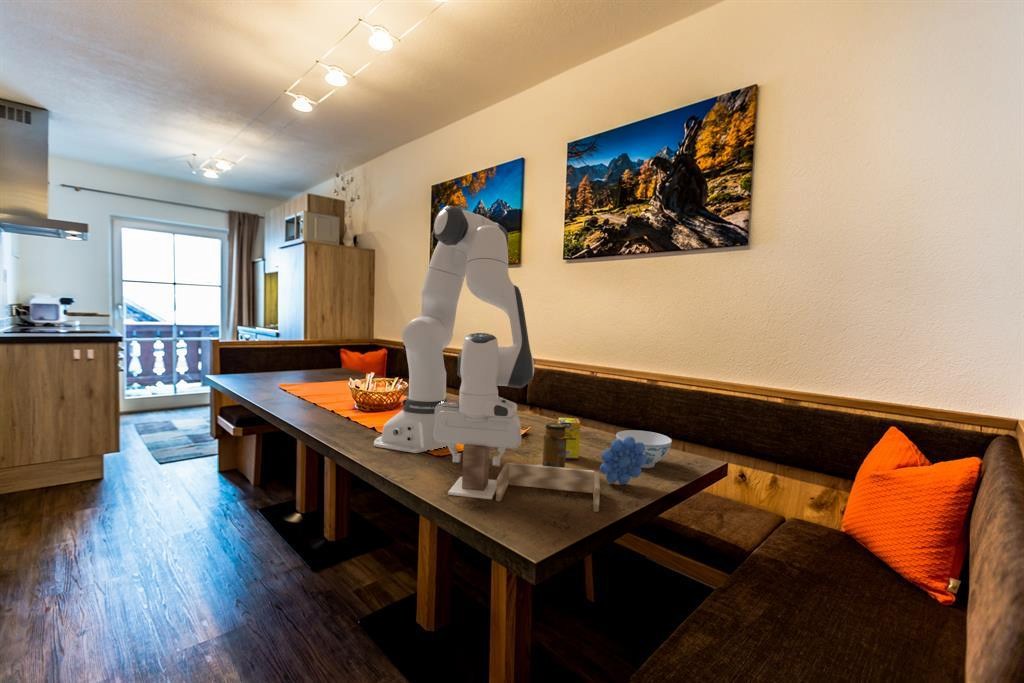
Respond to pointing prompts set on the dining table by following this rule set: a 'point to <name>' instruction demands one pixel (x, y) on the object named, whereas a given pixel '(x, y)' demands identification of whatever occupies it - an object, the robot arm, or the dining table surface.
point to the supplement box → (571, 437)
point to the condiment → (554, 445)
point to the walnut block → (475, 467)
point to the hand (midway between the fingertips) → (476, 463)
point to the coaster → (485, 494)
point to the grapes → (623, 460)
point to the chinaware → (649, 444)
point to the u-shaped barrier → (549, 479)
